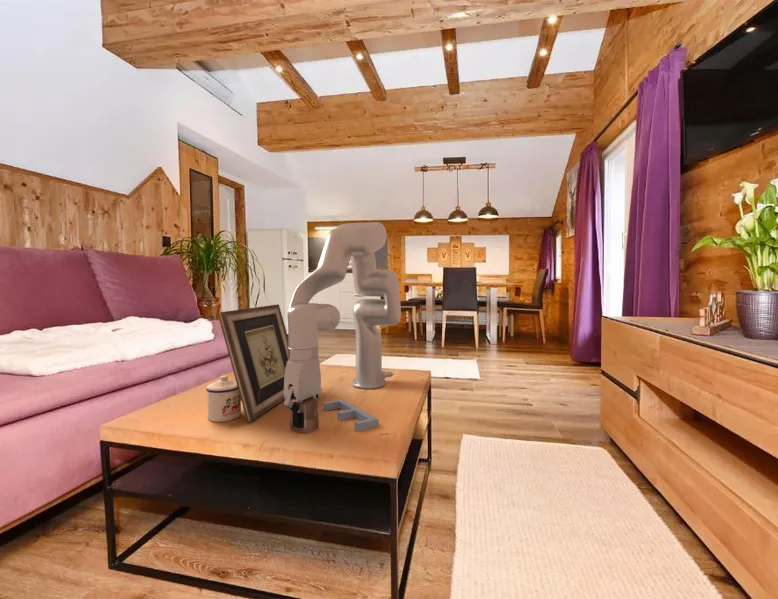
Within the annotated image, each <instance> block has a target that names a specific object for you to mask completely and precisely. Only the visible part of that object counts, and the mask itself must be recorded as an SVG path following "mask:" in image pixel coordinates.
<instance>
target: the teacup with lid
mask: <svg viewBox="0 0 778 599" xmlns="http://www.w3.org/2000/svg"><path fill="white" fill-rule="evenodd" d="M228 377H229V376H228V375H220V377H219V379H217V380H216V381H214V382H212V383H209V384H208V385H207V386H206V388H205V390H206V392H207V394H206V396H207V401H206V402H207V419H208V420H209V421H210V422H214V423H223V422H229V421H234V420H235V419H236V420H237V419H238V418H239V417H241V414H242V401H241V397H240V394H239V390H238V386H237V383H236V380H234V379H231V378H228Z"/></svg>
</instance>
